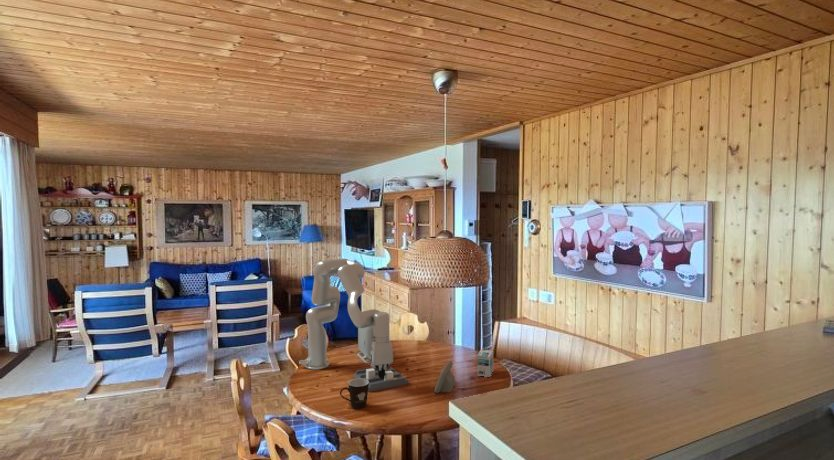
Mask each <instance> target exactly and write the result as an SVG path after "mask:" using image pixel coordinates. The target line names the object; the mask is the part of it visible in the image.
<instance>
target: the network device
mask: <svg viewBox="0 0 834 460" xmlns="http://www.w3.org/2000/svg"><path fill="white" fill-rule="evenodd" d="M372 337H373V326H369V327H365V328H357V342H358V343H357V347H358V348H357V349H358V350H359V351H360V352H358V353H357V356H358V357H359V358H360V360H361V361H363V362H364V363H365V364H371V361H370V354H371V346H372V342H373V341H371V338H372ZM361 355H363V356H361ZM367 360H369V361H367Z"/></svg>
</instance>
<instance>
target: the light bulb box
mask: <svg viewBox="0 0 834 460" xmlns="http://www.w3.org/2000/svg"><path fill="white" fill-rule="evenodd" d="M476 364H477V365H476V366H477V371H476V372H477V377H479V376H484V377H483V378H487V377H490V376H491V377H492V375H493V373H494V350H490V349H489V350H488V349H480V350H479V352H478V354H477V363H476ZM492 372H493V373H492ZM491 374H492V375H491ZM491 377H490V378H491Z"/></svg>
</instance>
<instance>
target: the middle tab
mask: <svg viewBox="0 0 834 460" xmlns="http://www.w3.org/2000/svg"><path fill="white" fill-rule="evenodd" d="M370 368H371V369H369V368H365V369H366V378H367V379H370V378H375V370H374V369H373V368H374V367H370Z"/></svg>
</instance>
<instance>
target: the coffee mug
mask: <svg viewBox="0 0 834 460" xmlns="http://www.w3.org/2000/svg"><path fill="white" fill-rule="evenodd" d="M368 386H369V381H368V380H366V379H355V378H354V379H351V380H349V381H348V387H344V388H341V389H340V391H339V396H340V397H341V398H343V399H344V400H346V401H349V402H350V407H351V408H352V409H353V410H362V409H365V408H366V407H367V403H368V394H369V392H368ZM344 390H347V391H348V392H349V398H347V397H344V395H343V394H342V392H343V391H344Z"/></svg>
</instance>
